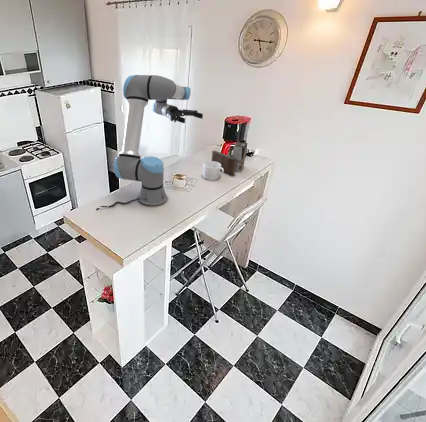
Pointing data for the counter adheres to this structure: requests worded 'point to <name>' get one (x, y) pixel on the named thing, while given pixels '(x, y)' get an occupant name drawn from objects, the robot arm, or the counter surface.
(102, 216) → the counter surface
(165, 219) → the counter surface
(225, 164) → the wall board
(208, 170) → the mug
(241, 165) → the coffee box
